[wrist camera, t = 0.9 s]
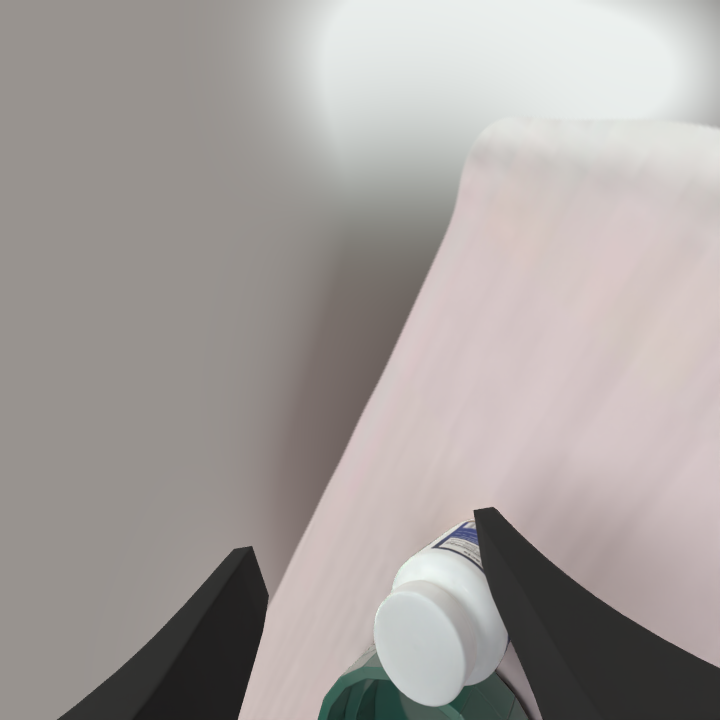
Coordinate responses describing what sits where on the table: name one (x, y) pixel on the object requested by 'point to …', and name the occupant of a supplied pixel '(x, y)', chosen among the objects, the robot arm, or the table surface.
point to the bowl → (400, 713)
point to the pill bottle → (440, 621)
